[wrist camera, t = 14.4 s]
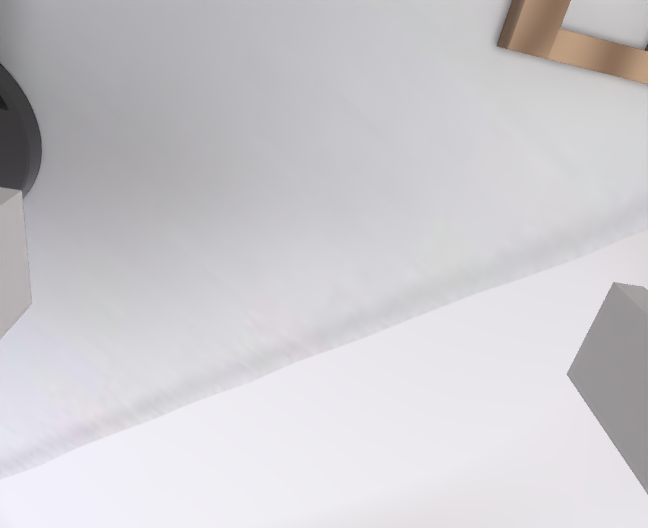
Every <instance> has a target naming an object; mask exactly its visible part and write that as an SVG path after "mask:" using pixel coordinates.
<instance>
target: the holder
mask: <svg viewBox="0 0 648 528" xmlns="http://www.w3.org/2000/svg"><path fill="white" fill-rule="evenodd" d="M570 1H571V0H513V1H512V4H511V6H510V9H509V12H508V15H507V18H506V21H505V24H504V27H503V29H502V32H501V35H500V38H499V41H498V44H497V46H498V47H502V48H505V49H509V50H513V51H517V52H521V53H525V54H529V55H533V56H537V57H541V58H545V59H549V60H553V61H557V62H561V63H565V64H569V65H573V66H577V67H581V68H585V69H589V70H593V71H597V72H602V73H606V74H610V75H614V76H618V77H622V78H626V79H630V80H634V81H638V82H642V83H646V84H648V45H647V48H646V50H645V51H644V50H640V49H636V48H633V47H629V46H625V45H621V44H617V43H613V42H609V41H605V40H601V39H598V38H594V37H590V36H586V35H582V34H578V33H574V32H570V31H566V30H563V29H560V26H561V24H562V21H563V19H564V16H565V14H566V11H567V9H568V6H569V3H570Z"/></svg>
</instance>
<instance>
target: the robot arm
mask: <svg viewBox="0 0 648 528" xmlns="http://www.w3.org/2000/svg"><path fill="white" fill-rule="evenodd" d="M40 161H41V140H40V134H39V129H38V125H37V122H36V119H35V116H34V113H33V111H32V109H31V106H30V104H29V102H28V101H27V99H26V97H25V95H24V94H23V92H22V90H21V89H20V87H19V86H18V84H17V83H16V82H15V80H14V79H13V78H12V77H11V75H10V74H9V73H8V72H7V71H6V70H5V69H4V68H3V67H2V66H1V65H0V339H1V338H2V337H3V336H4V335H5V333H6V332H7V331H8V330H9V329H10V328H11V327H12V326H13V324H14V323H15V322H16V321H17V320H18V319H19V318H20V317H21V315H22V314H23V313H24V312H25V311H26V310H27V309H28V307H29V306H30V305H31V304H32V296H31V285H30V274H29V264H28V253H27V242H26V231H25V220H24V210H23V199H22V198H23V197H24V196H25V195H26V194H27V193H28V191H29V190H30V189H31V187H32V185H33V184H34V182H35V179H36V177H37V174H38V171H39V167H40ZM567 375H568V377H569V378H570V380H571V381H572V383H573V384H574V386H575V387H576V389H577V390H578V392H579V393H580V395H581V396H582V398H583V399H584V401H585V402H586V403H587V405H588V407H589V408H590V409H591V411H592V412H593V414H594V415H595V417H596V418H597V419H598V421H599V423H600V424H601V426H602V427H603V429H604V430H605V432H606V433H607V435H608V436H609V438H610V439H611V440H612V442H613V444H614V445H615V446H616V448H617V449H618V451H619V452H620V454H621V455H622V457H623V458H624V460H625V461H626V463H627V464H628V466H629V467H630V469H631V470H632V472H633V473H634V474H635V476H636V478H637V479H638V480H639V482H640V483H641V485H642V486H643V488H644V489H645V491H646V492H647V494H648V290H647V289H646V288H644V287H641V286H635V285H628V284H622V283H615V282H614V283H613V284H612V286H611V288H610V290H609V292H608V294H607V296H606V298H605V300H604V302H603V304H602V306H601V308H600V310H599V312H598V314H597V316H596V318H595V320H594V322H593V323H592V326H591V327H590V329H589V331H588V333H587V335H586V337H585V339H584V341H583V343H582V345H581V347H580V349H579V351H578V353H577V355H576V357H575V359H574V361H573V363H572V365H571V367H570V369H569V371H568V373H567Z"/></svg>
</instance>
